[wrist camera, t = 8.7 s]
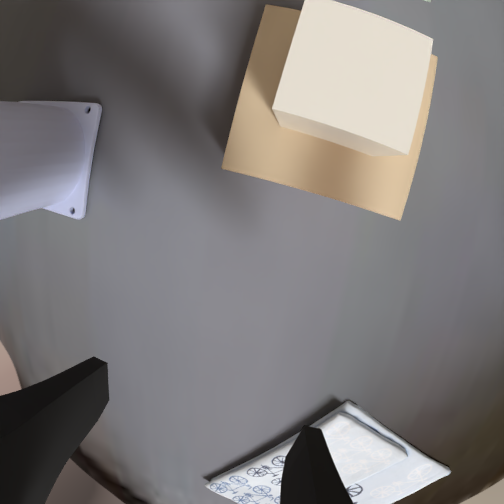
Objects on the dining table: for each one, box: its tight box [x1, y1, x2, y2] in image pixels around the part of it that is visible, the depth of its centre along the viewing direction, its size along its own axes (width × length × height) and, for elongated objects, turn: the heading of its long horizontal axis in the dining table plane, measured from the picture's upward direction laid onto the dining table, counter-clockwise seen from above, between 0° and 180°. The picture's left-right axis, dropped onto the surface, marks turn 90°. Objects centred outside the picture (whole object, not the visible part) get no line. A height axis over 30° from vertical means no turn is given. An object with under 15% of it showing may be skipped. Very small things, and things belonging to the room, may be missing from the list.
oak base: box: [221, 4, 438, 220], centre depth 14 cm, size 9×9×3 cm
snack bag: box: [205, 401, 451, 504], centre depth 24 cm, size 19×20×2 cm
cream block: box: [272, 0, 433, 156], centre depth 10 cm, size 4×4×5 cm
